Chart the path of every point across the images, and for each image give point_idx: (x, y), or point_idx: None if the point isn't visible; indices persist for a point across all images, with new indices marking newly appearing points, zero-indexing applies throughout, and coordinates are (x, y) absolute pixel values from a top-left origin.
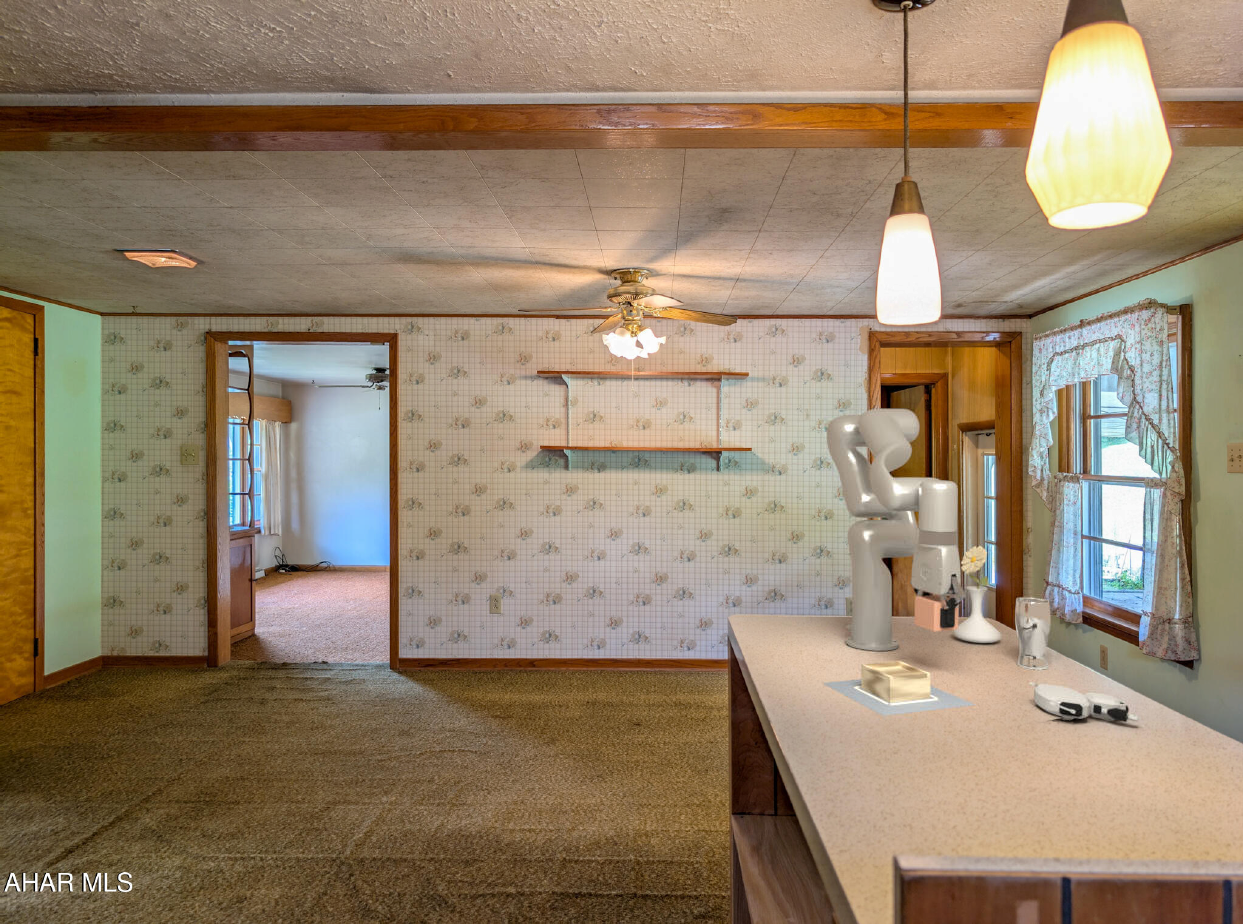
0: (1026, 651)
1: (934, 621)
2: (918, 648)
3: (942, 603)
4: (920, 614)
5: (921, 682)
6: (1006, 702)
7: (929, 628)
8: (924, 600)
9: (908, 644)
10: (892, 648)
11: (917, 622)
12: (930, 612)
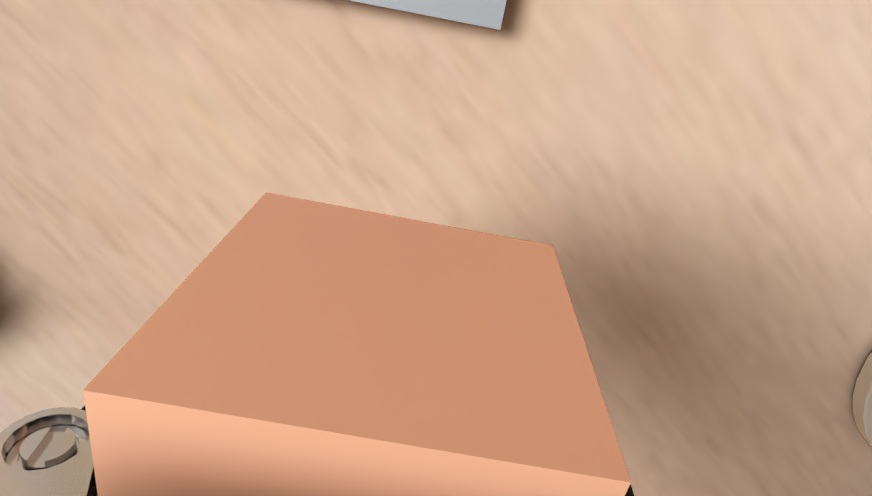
0: None
1: (225, 239)
2: (781, 479)
3: (70, 477)
4: (468, 293)
5: None
6: (22, 169)
7: (326, 208)
8: (362, 422)
9: (847, 492)
10: (859, 381)
11: (511, 249)
12: (260, 295)
